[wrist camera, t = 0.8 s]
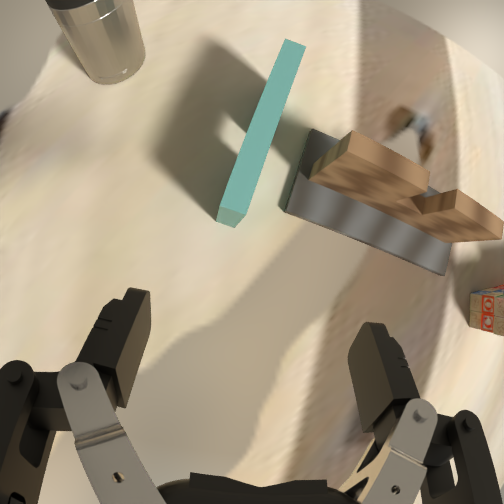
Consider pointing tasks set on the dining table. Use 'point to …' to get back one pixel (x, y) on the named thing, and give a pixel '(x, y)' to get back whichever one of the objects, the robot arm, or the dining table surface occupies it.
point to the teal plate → (259, 136)
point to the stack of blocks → (488, 310)
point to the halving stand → (384, 201)
